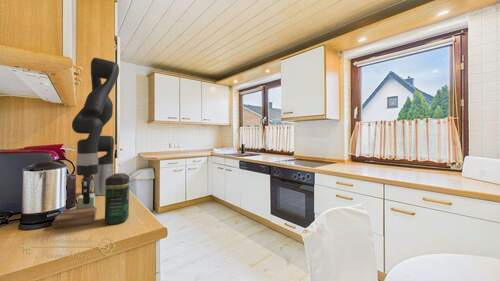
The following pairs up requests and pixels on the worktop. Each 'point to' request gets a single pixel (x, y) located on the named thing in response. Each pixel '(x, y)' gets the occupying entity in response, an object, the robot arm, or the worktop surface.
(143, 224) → the worktop surface
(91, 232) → the worktop surface
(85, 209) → the walnut base
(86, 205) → the sage cube
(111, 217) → the coffee jar
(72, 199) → the supplement box
